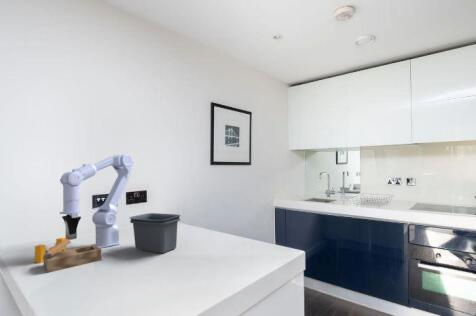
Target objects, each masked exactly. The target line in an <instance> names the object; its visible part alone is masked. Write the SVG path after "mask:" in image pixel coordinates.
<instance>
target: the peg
mask: <svg viewBox="0 0 476 316" xmlns="http://www.w3.org/2000/svg"><path fill="white" fill-rule="evenodd" d="M64 224H65V227H64V228H65V240H66V239H69V240H70V241H71V240H76V239H77V238H78V229H77V230H76V234H71V235H70V234H69V231H68V225H67V222H66V220H65V222H64Z"/></svg>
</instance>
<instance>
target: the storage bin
mask: <svg viewBox="0 0 476 316" xmlns="http://www.w3.org/2000/svg"><path fill="white" fill-rule="evenodd" d="M178 222H181V214H176V213H175V214H173V213H157V212H156V213H155V212H152V213H151V212H149V213H144V214H139V215H133V216H129V223H130V224H132V228H133V236H134V246H135V249H136V250H139V251H145V252H146V251H147V252H153V253H158V254H164V253H167V252H170V251H171V250H174V249H176V248H177V238H178V236H177V235H178Z"/></svg>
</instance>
